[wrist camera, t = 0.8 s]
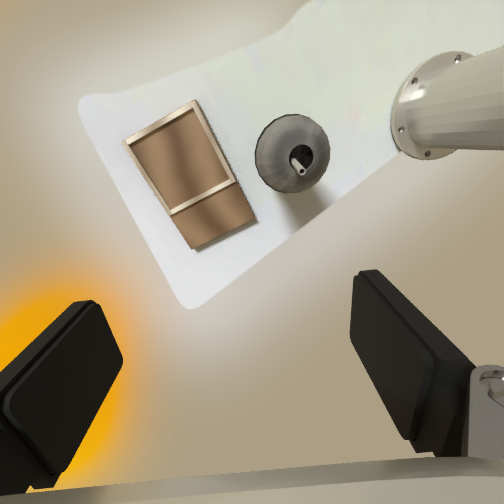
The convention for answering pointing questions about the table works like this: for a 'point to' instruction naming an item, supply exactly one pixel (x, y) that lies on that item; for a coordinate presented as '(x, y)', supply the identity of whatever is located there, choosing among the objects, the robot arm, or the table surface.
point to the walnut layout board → (190, 175)
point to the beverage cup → (292, 153)
